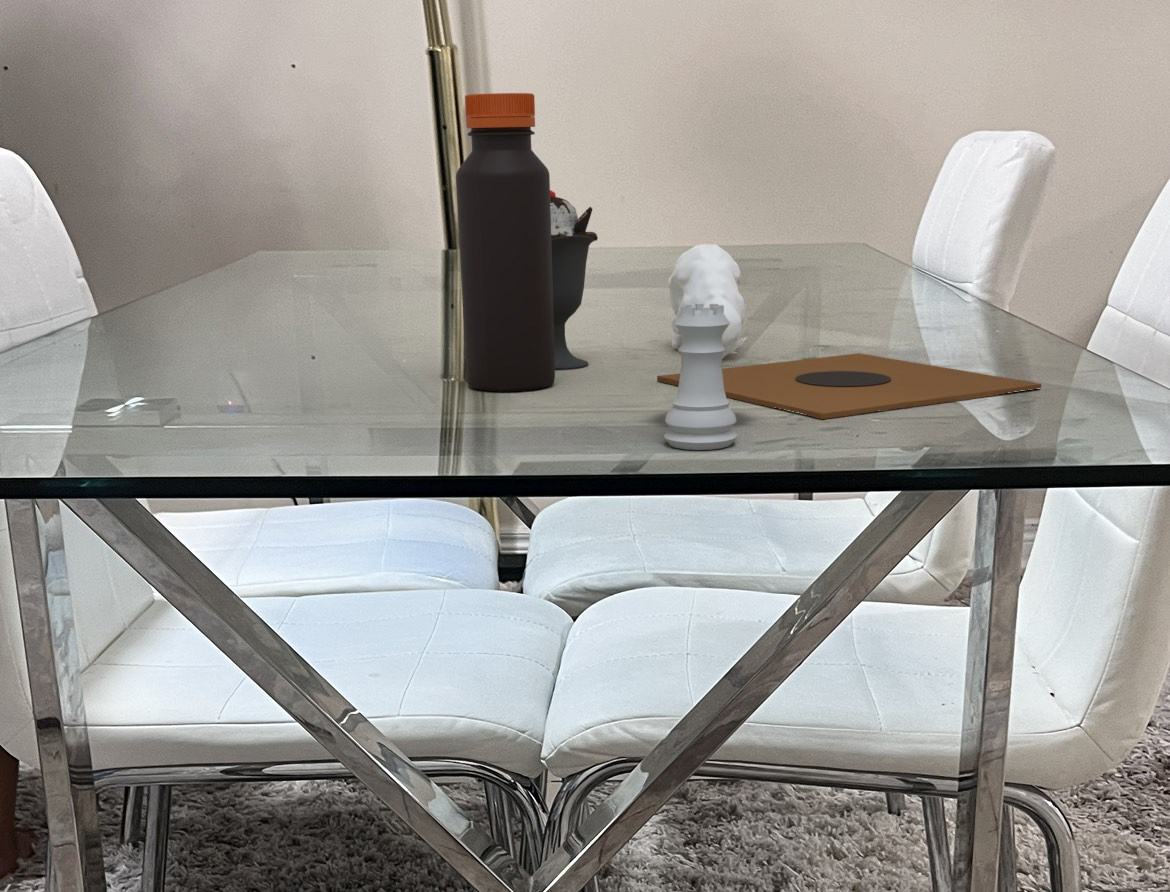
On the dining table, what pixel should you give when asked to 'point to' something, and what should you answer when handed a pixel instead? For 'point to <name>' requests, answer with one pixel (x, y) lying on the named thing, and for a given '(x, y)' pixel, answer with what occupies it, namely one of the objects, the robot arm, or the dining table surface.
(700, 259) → the white animal figurine
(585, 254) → the sundae
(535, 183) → the bottle
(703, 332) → the rook chess piece
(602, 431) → the dining table surface
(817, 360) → the centre mat
